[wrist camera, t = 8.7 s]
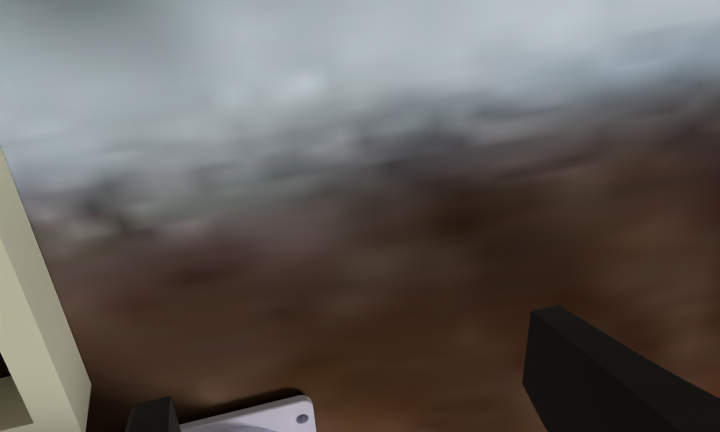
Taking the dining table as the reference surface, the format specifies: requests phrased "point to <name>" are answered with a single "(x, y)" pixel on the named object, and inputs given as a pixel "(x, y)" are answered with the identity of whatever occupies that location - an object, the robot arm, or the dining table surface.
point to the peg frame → (34, 333)
